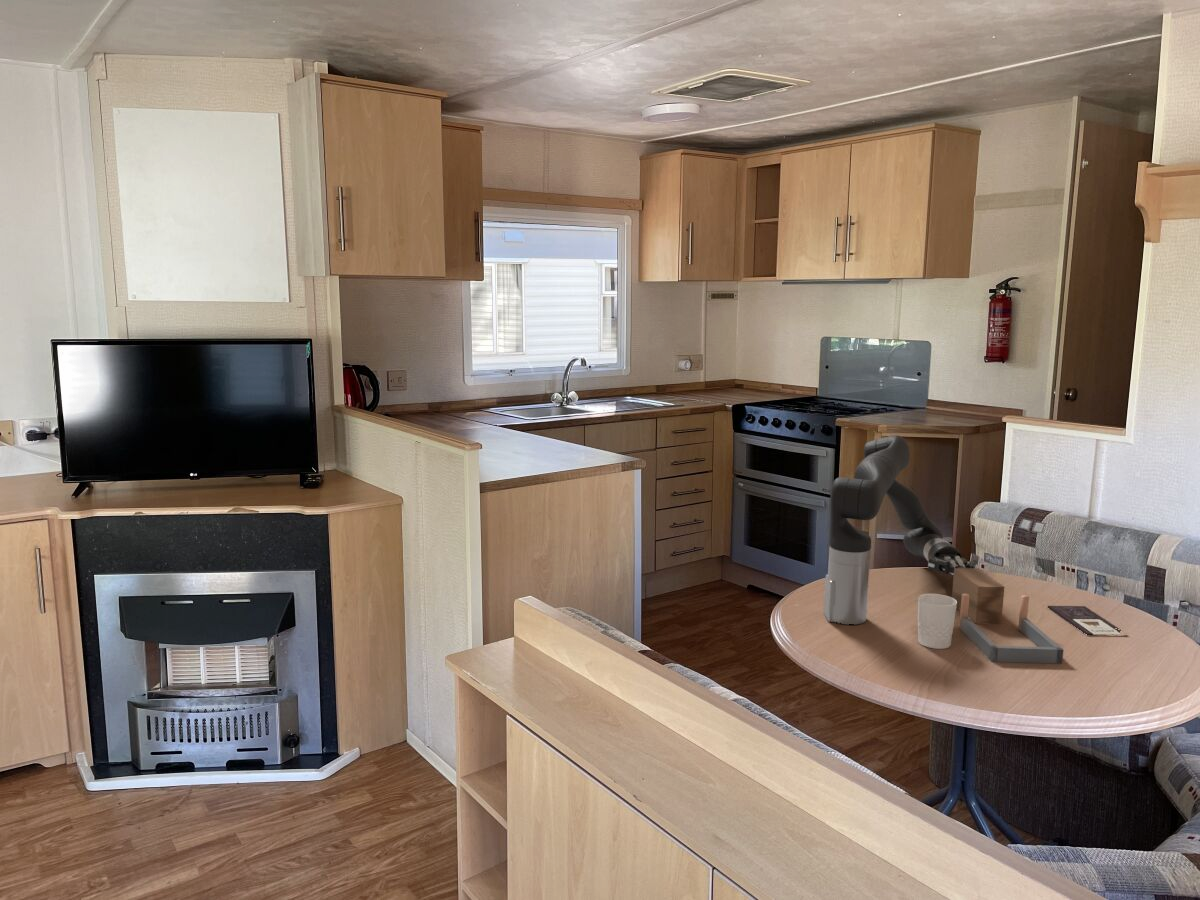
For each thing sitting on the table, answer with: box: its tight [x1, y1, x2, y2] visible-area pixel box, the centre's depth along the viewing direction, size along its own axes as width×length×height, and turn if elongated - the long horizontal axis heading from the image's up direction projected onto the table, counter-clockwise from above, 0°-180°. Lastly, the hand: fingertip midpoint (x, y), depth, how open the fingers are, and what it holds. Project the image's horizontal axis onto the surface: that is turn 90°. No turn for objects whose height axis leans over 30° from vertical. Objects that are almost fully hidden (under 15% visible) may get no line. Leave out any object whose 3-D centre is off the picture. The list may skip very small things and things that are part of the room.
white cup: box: [917, 593, 957, 650], centre depth 196 cm, size 8×8×10 cm
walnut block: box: [951, 567, 1005, 625], centre depth 215 cm, size 6×14×9 cm, turn 1°
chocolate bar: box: [1047, 605, 1122, 635], centre depth 211 cm, size 9×1×18 cm
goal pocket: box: [958, 594, 1064, 664], centre depth 196 cm, size 15×19×8 cm
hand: (964, 575), depth 223 cm, fingers closed
